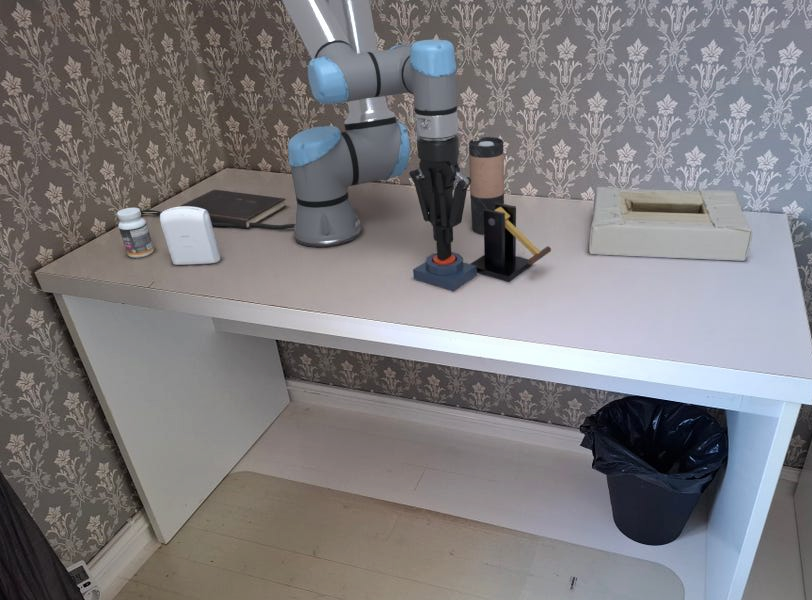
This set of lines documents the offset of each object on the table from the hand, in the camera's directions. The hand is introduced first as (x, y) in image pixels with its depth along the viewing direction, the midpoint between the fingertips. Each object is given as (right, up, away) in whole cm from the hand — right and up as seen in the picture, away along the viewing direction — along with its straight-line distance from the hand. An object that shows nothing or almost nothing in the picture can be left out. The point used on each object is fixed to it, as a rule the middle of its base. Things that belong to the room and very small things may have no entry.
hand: (444, 256), depth 134 cm
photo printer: (-54, +1, +14) cm, 56 cm away
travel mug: (+9, +10, +23) cm, 27 cm away
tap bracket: (+11, -2, +5) cm, 13 cm away
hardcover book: (-55, +17, +38) cm, 69 cm away
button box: (0, -4, +3) cm, 5 cm away
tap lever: (+14, +3, 0) cm, 14 cm away
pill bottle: (-69, +3, +19) cm, 71 cm away
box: (+48, +7, +16) cm, 51 cm away
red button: (0, -2, +1) cm, 2 cm away
